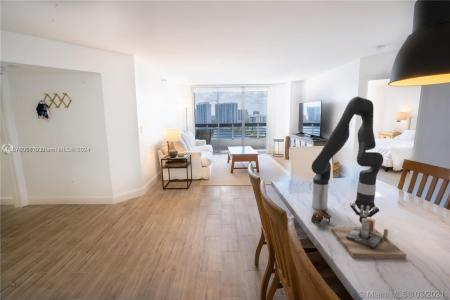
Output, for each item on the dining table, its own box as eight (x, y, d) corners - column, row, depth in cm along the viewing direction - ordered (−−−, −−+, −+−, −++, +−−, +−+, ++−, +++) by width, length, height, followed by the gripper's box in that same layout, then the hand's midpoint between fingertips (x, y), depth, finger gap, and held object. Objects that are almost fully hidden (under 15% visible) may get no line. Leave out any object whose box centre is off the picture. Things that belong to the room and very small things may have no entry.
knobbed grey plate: (358, 226, 111) (359, 215, 110) (385, 236, 102) (386, 223, 101) (346, 237, 101) (347, 225, 100) (374, 249, 93) (375, 235, 91)
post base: (330, 230, 112) (331, 209, 111) (373, 230, 111) (375, 209, 109) (352, 257, 91) (354, 232, 89) (405, 258, 89) (408, 232, 87)
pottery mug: (310, 217, 128) (318, 206, 127) (325, 228, 124) (333, 216, 122) (307, 221, 118) (315, 209, 117) (323, 232, 114) (332, 220, 112)
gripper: (351, 192, 104) (348, 224, 107) (384, 196, 98) (379, 229, 101) (349, 187, 110) (346, 217, 114) (380, 190, 105) (376, 222, 108)
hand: (362, 223), depth 108 cm, fingers closed
